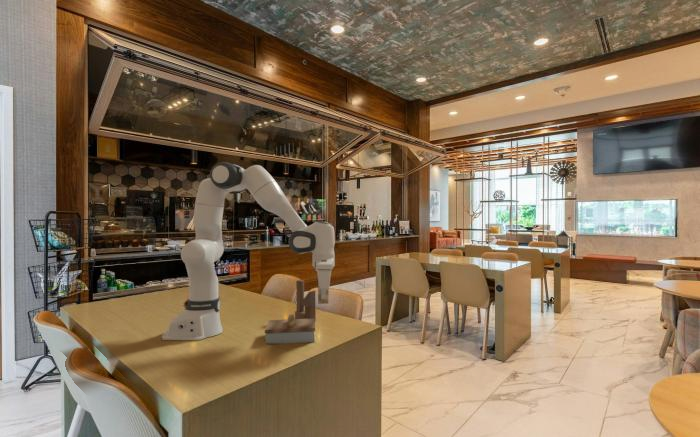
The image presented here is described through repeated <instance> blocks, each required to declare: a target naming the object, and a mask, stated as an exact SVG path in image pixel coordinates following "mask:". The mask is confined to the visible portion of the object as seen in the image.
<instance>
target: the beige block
mask: <svg viewBox="0 0 700 437" xmlns="http://www.w3.org/2000/svg"><path fill="white" fill-rule="evenodd" d="M329 291H330V288H329V289H328V290H326V298H325V299H321V290H320V289H319V284H318V285H317V303H318V304H319V305H321V304H324V305H325V304H329V300H330V298H329V294H330V293H329Z"/></svg>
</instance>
